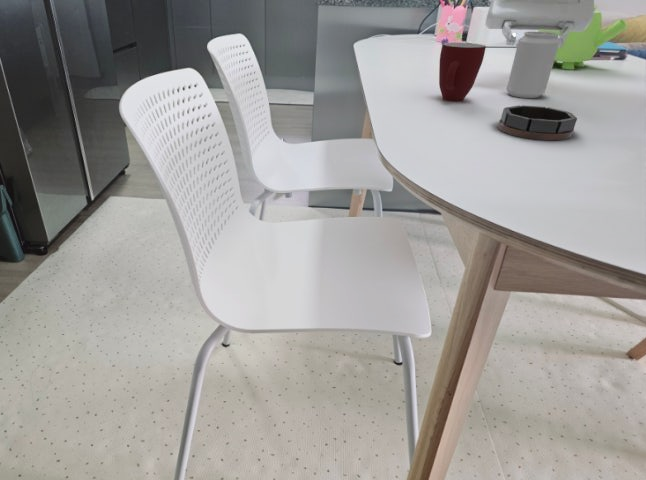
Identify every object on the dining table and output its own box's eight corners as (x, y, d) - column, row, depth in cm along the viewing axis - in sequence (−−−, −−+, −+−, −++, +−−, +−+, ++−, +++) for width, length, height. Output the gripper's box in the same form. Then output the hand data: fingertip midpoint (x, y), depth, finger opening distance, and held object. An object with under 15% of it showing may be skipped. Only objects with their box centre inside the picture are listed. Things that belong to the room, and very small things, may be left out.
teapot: (597, 75, 121) (622, 5, 112) (515, 65, 134) (531, 1, 126) (626, 66, 135) (651, 3, 127) (549, 58, 148) (567, 0, 140)
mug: (470, 107, 89) (483, 50, 84) (427, 103, 92) (437, 47, 87) (475, 97, 97) (487, 44, 92) (435, 93, 100) (445, 41, 95)
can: (501, 90, 103) (517, 29, 97) (538, 92, 102) (556, 30, 95) (508, 97, 97) (526, 33, 90) (547, 99, 96) (567, 34, 89)
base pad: (563, 124, 79) (568, 107, 78) (580, 143, 70) (586, 124, 69) (494, 119, 81) (498, 103, 80) (501, 137, 73) (506, 118, 71)
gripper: (492, -25, 99) (485, 31, 96) (600, -24, 94) (595, 34, 92) (485, -1, 105) (478, 52, 102) (586, 0, 100) (581, 56, 98)
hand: (534, 44), depth 97 cm, fingers open, 8 cm apart
